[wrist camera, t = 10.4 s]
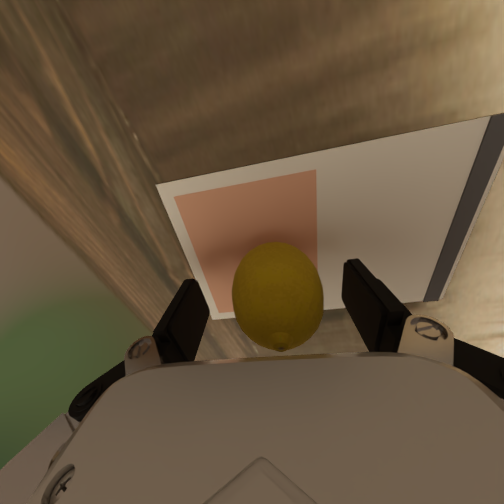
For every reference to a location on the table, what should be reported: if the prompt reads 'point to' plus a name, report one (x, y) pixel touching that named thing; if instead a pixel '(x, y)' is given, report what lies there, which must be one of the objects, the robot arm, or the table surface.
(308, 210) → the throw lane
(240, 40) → the table surface
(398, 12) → the table surface
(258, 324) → the lemon
